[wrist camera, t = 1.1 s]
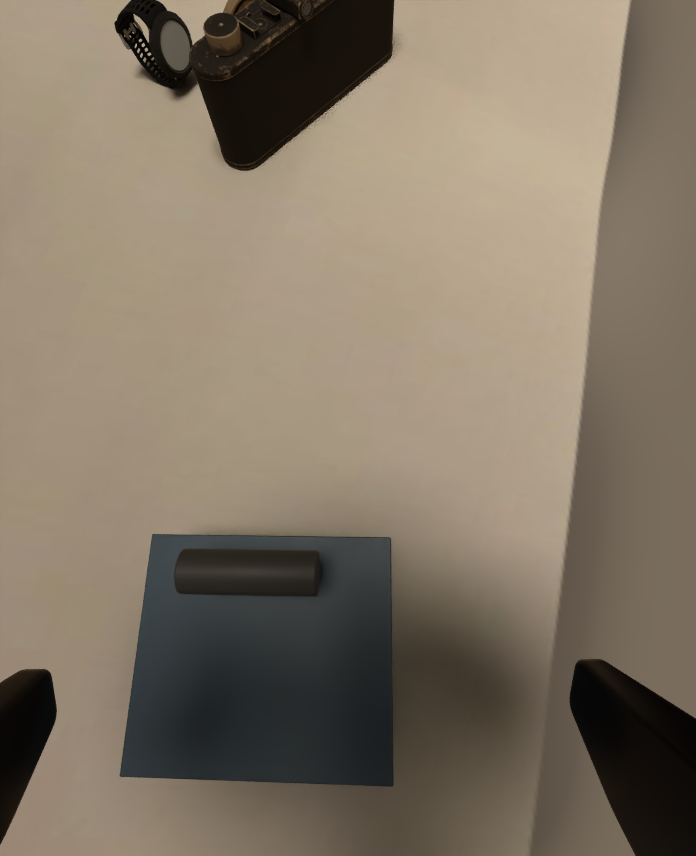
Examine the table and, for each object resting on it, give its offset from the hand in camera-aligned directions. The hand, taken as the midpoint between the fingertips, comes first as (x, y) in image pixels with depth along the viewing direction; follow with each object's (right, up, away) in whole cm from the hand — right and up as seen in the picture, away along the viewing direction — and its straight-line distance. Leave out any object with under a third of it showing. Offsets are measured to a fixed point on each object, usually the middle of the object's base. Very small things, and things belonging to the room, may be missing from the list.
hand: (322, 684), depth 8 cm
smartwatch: (-13, +32, +28) cm, 45 cm away
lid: (-3, -5, +12) cm, 13 cm away
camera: (-3, +30, +27) cm, 40 cm away
